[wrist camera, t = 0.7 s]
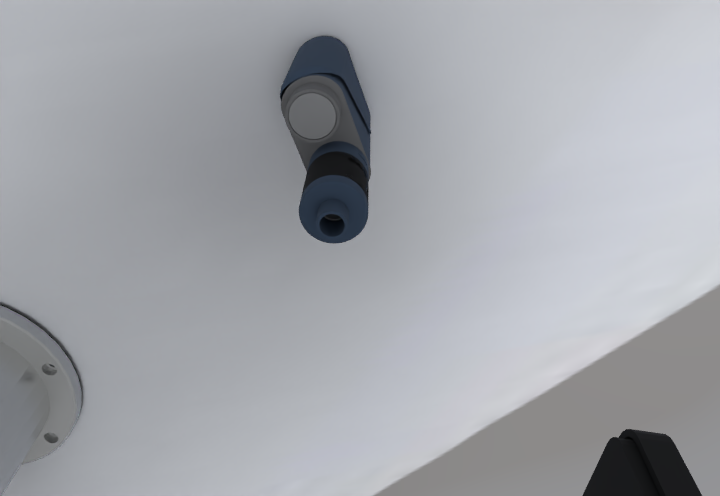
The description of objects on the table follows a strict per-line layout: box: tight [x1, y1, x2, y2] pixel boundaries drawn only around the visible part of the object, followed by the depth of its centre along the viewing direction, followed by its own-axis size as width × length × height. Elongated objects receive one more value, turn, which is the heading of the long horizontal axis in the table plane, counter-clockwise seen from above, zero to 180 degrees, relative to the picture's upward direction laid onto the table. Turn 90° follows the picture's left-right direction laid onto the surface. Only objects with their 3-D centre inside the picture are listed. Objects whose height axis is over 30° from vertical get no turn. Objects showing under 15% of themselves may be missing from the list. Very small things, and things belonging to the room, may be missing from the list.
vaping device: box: [280, 36, 371, 243], centre depth 26 cm, size 3×5×12 cm, turn 19°
